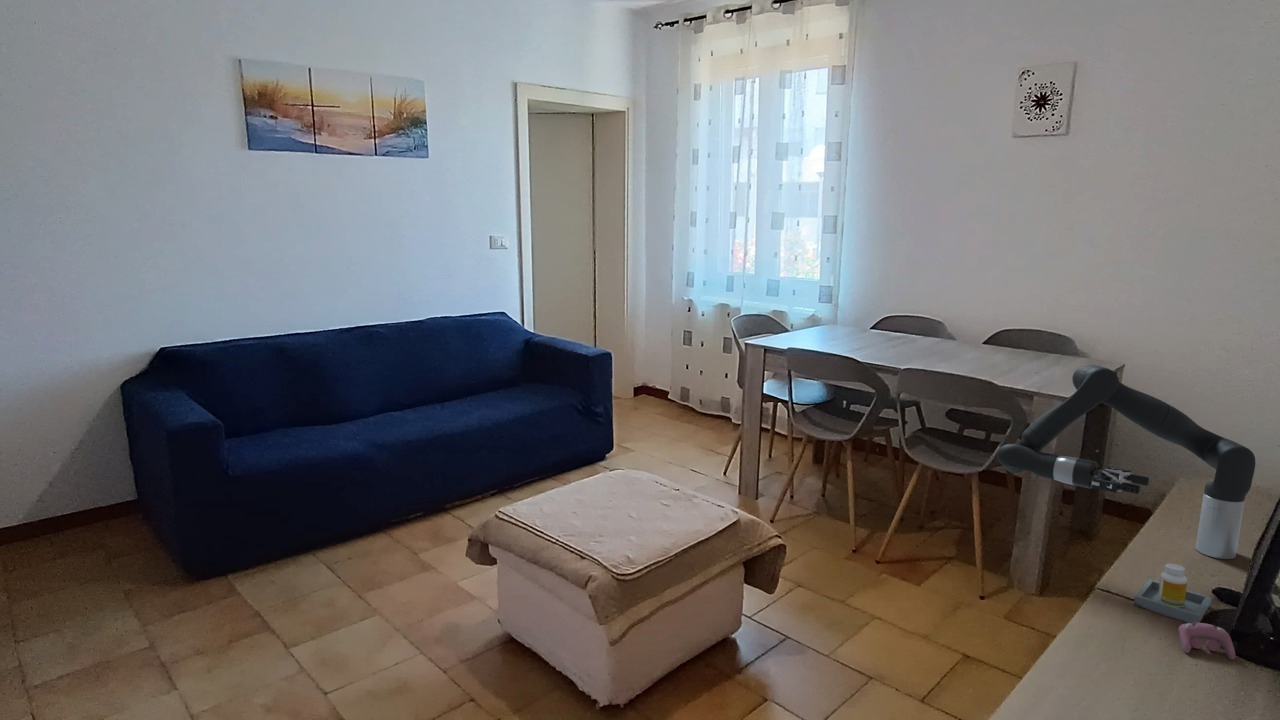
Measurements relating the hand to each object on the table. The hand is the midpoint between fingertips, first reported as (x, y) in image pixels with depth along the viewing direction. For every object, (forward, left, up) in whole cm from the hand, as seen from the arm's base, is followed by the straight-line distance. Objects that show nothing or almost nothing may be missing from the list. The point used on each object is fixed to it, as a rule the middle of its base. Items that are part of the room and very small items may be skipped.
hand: (1144, 485), depth 190 cm
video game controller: (+26, +21, -27) cm, 43 cm away
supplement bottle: (+9, +10, -26) cm, 29 cm away
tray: (+8, +11, -27) cm, 30 cm away
